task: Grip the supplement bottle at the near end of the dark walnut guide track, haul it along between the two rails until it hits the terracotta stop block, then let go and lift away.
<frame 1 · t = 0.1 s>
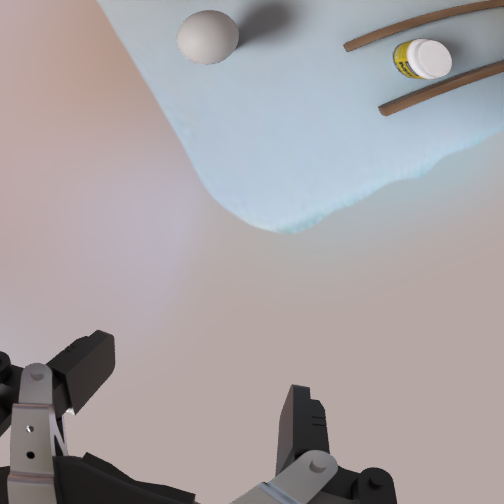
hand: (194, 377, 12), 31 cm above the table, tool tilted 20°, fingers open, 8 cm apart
lightbulb: (228, 44, 30), on the table
guide track: (455, 45, 23), on the table
supplement bottle: (408, 60, 27), resting in guide track
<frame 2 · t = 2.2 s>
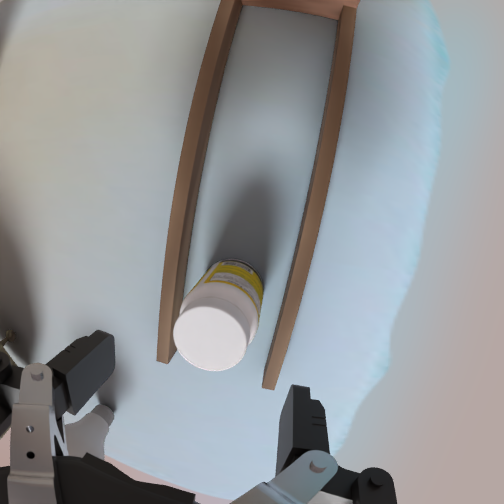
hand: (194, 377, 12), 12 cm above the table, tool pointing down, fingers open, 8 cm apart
tabletop clock: (14, 341, 28), on the table
lightbulb: (108, 407, 28), on the table
guide track: (253, 183, 21), on the table
supplement bottle: (234, 286, 23), resting in guide track
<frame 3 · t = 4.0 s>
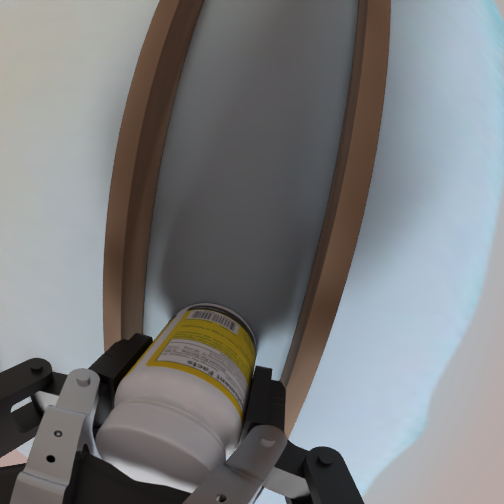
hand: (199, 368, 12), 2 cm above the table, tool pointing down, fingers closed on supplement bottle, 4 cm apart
guide track: (240, 183, 13), on the table
supplement bottle: (212, 341, 15), resting in guide track, touching gripper
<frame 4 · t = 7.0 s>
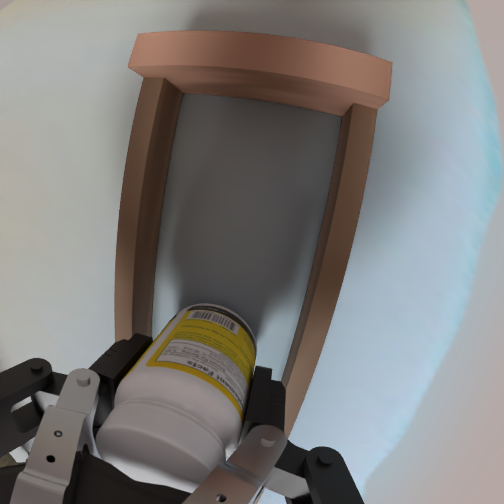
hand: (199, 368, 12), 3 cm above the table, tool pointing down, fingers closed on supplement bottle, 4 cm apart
tabletop clock: (7, 427, 24), on the table
guide track: (212, 376, 16), on the table
supplement bottle: (212, 341, 15), point 1 cm above the table, touching gripper
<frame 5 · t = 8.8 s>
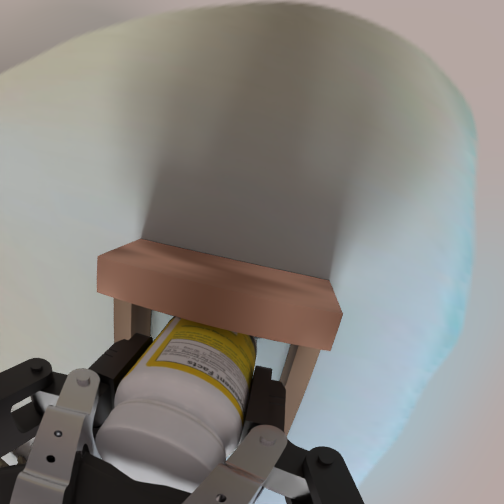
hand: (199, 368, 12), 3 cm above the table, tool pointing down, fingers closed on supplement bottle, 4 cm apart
guide track: (197, 461, 18), on the table
supplement bottle: (212, 341, 15), point 1 cm above the table, touching gripper
when the fingers open (3 cm above the table, at t = 10.0 s): supplement bottle stays where it is, resting in guide track.
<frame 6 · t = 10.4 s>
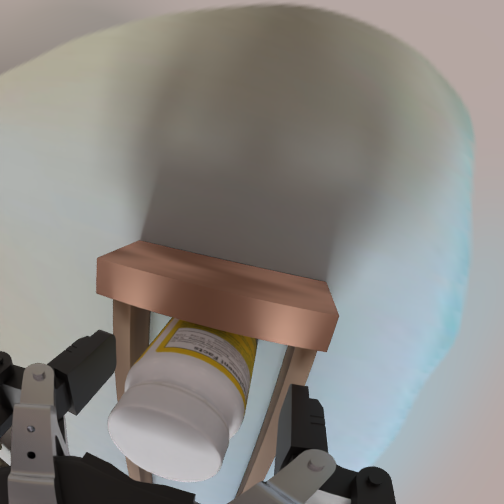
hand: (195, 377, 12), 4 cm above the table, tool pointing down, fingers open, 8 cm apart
guide track: (196, 461, 19), on the table
supplement bottle: (216, 332, 16), resting in guide track
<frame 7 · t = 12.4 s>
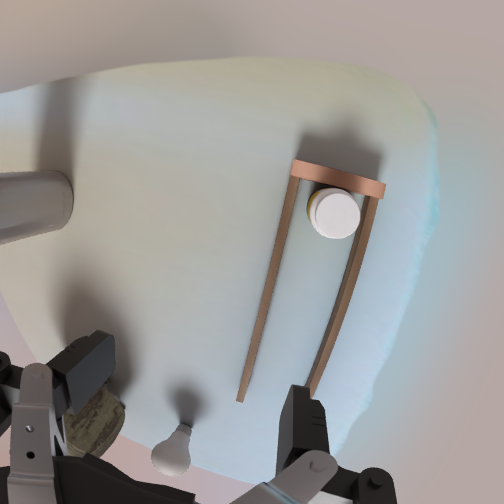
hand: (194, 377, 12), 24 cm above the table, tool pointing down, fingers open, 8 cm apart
tabletop clock: (104, 382, 44), on the table
lightbulb: (186, 425, 44), on the table
guide track: (301, 308, 36), on the table
supplement bottle: (327, 208, 33), resting in guide track
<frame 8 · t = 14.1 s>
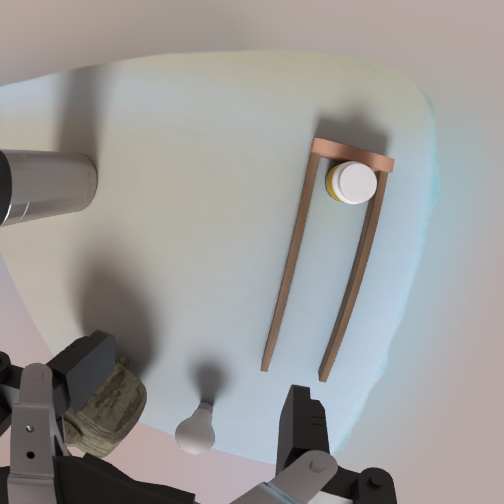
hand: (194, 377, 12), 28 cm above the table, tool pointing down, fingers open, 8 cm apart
tabletop clock: (123, 364, 46), on the table
lightbulb: (207, 404, 46), on the table
guide track: (321, 275, 39), on the table
supplement bottle: (342, 183, 36), resting in guide track
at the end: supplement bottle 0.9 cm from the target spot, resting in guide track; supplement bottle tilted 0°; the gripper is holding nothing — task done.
